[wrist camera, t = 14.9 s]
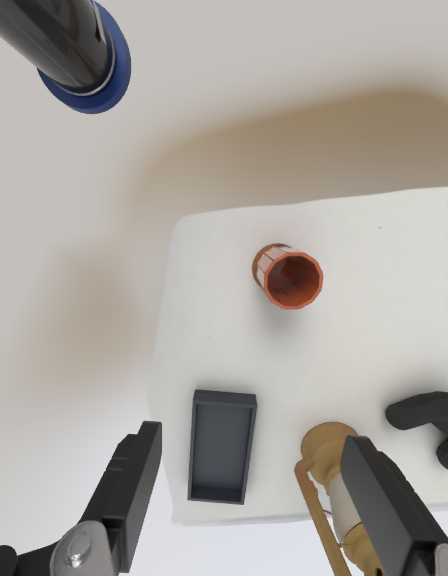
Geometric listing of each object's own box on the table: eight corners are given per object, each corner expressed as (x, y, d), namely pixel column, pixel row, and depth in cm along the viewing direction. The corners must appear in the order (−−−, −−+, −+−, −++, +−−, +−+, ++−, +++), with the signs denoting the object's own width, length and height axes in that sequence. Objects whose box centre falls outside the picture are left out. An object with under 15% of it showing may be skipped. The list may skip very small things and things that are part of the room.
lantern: (288, 472, 45) (398, 925, 16) (285, 425, 42) (409, 861, 13) (371, 466, 44) (648, 929, 15) (373, 418, 42) (709, 863, 13)
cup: (247, 275, 36) (252, 291, 27) (270, 237, 34) (285, 240, 25) (283, 297, 36) (300, 319, 28) (308, 260, 35) (334, 271, 26)
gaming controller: (438, 441, 45) (509, 435, 39) (449, 476, 41) (530, 477, 34) (378, 391, 43) (442, 376, 36) (382, 423, 39) (455, 413, 32)
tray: (195, 389, 41) (192, 400, 38) (255, 394, 41) (257, 405, 38) (189, 485, 46) (187, 500, 44) (242, 489, 46) (243, 505, 44)
